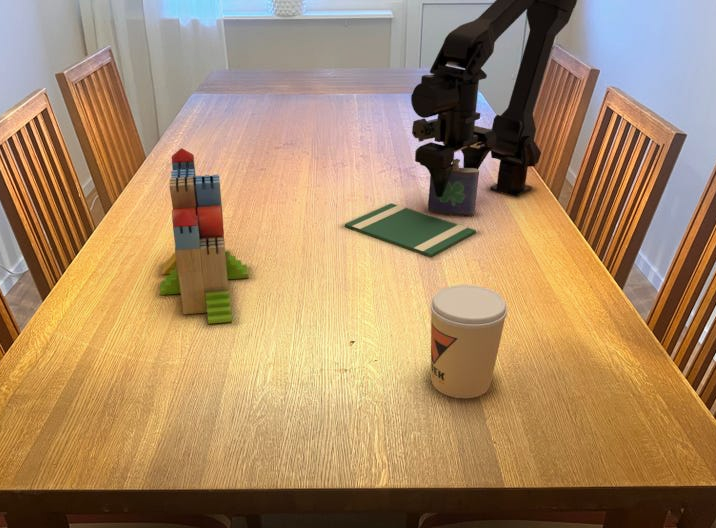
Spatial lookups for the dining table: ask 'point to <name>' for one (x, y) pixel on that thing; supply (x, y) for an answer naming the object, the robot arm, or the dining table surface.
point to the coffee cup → (465, 339)
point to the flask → (456, 193)
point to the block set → (199, 244)
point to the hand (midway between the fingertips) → (453, 190)
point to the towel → (411, 229)
